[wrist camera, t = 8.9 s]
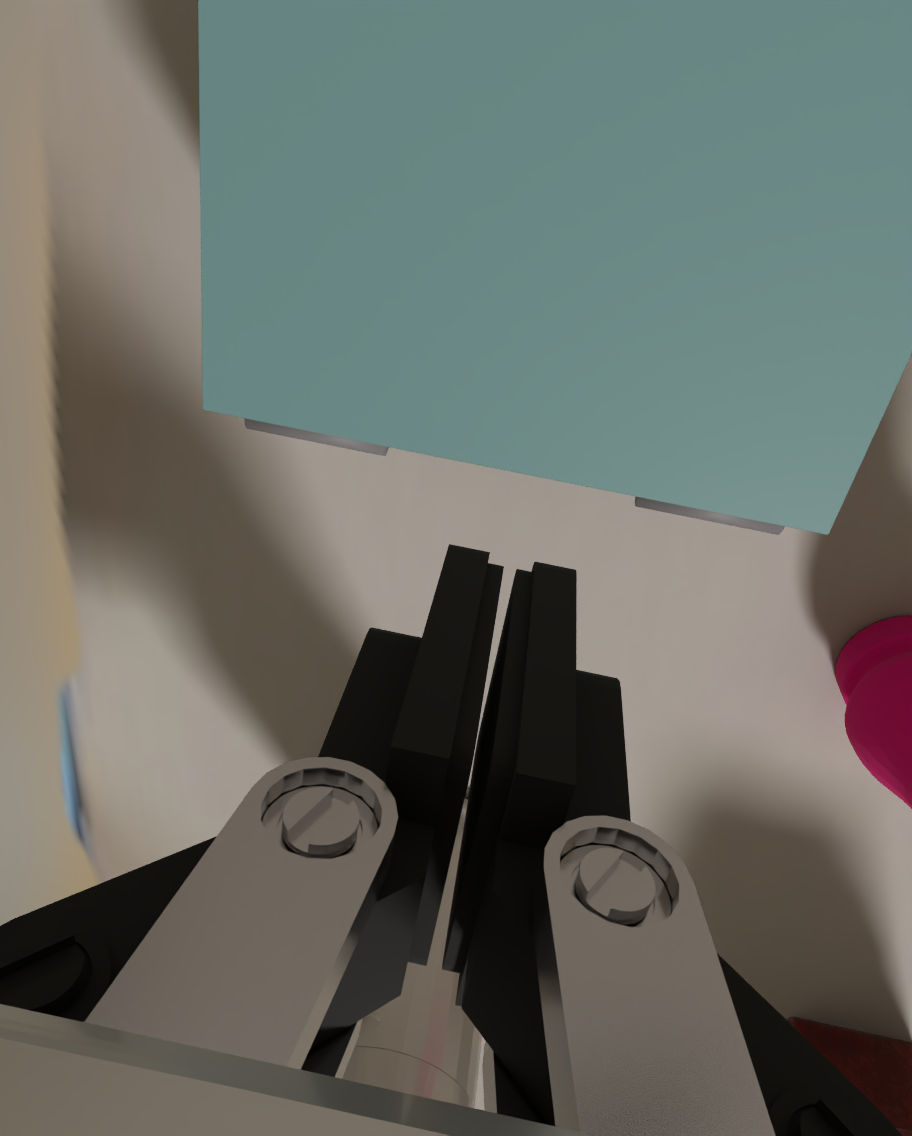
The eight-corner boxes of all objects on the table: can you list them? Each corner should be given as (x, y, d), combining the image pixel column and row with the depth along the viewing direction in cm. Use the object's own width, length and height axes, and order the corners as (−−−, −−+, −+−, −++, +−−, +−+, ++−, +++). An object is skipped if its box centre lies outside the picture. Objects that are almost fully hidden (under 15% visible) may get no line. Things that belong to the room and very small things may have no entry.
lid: (813, 532, 30) (821, 549, 29) (215, 413, 31) (203, 425, 30) (1152, -223, 19) (1182, -237, 18) (213, -382, 20) (193, -405, 19)
